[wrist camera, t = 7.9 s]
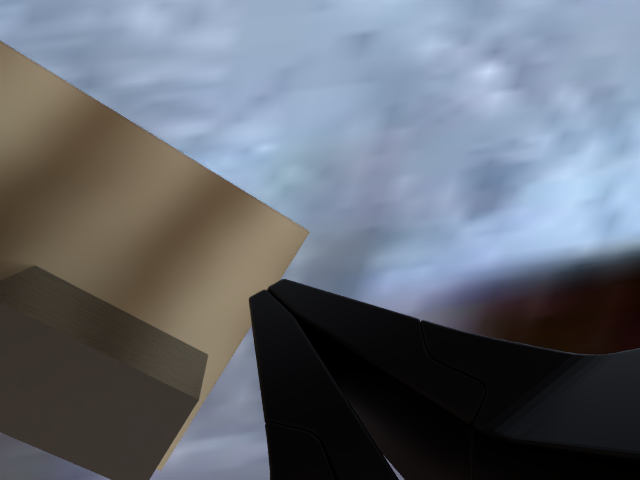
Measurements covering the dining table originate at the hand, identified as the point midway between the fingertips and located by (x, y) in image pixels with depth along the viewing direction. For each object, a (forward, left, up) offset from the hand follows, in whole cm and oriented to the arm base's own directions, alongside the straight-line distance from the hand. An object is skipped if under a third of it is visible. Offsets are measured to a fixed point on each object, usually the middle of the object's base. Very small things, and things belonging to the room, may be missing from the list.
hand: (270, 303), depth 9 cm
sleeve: (-2, +9, -11) cm, 14 cm away
